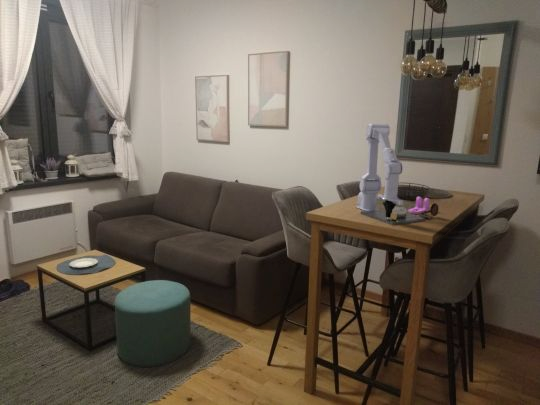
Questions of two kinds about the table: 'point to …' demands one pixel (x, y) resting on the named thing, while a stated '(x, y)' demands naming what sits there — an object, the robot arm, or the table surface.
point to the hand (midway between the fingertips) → (388, 216)
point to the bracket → (418, 206)
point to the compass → (433, 212)
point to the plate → (382, 217)
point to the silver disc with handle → (398, 212)
